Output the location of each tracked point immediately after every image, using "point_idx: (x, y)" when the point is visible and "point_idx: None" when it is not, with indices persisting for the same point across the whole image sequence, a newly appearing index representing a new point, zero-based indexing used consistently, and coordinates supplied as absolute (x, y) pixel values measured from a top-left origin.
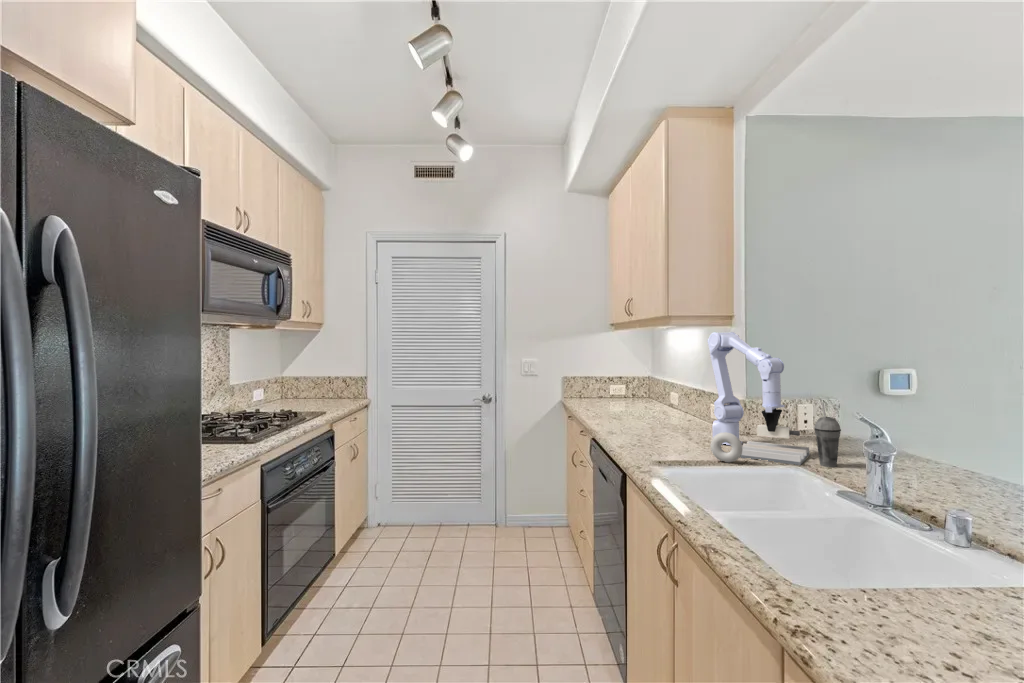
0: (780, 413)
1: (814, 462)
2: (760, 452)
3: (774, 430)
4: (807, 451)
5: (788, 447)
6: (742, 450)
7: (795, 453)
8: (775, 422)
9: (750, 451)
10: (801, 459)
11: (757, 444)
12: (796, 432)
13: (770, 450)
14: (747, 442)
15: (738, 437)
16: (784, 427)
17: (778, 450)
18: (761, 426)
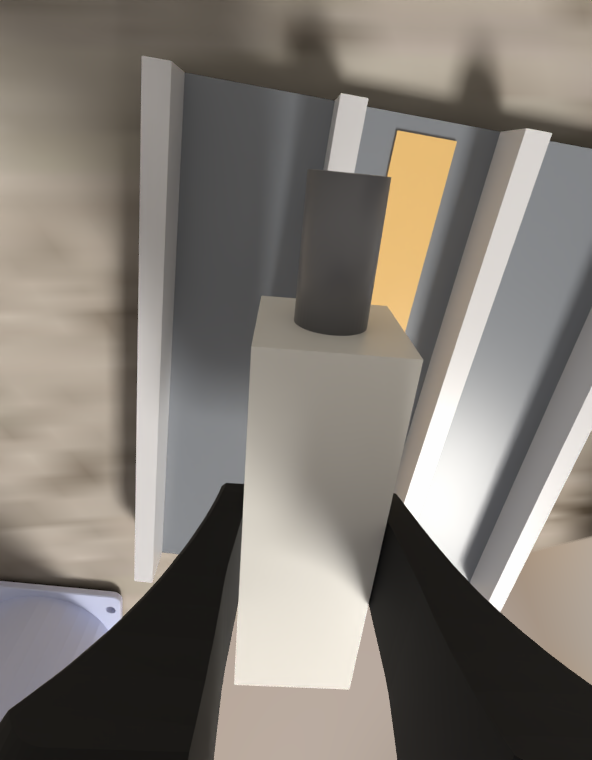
0: (201, 701)
1: (499, 27)
2: (565, 475)
3: (403, 507)
4: (182, 87)
5: (167, 282)
6: (516, 573)
7: (521, 213)
8: (473, 595)
9: (535, 531)
10: (556, 155)
11: (159, 510)
12: (381, 226)
13: (451, 418)
14: (154, 573)
15: (33, 638)
16: (359, 424)
17: (461, 362)
18: (356, 652)
